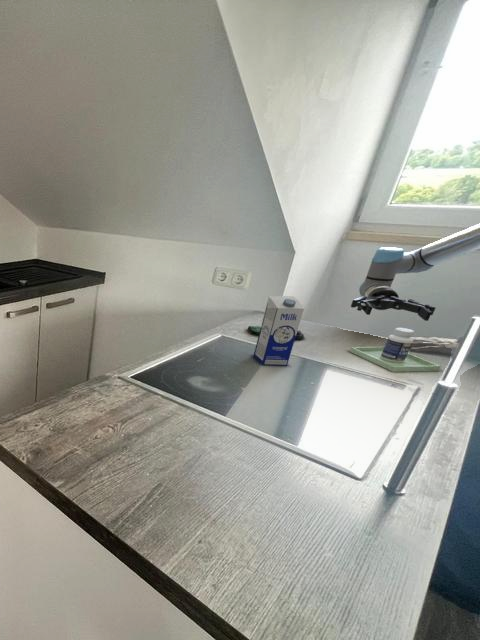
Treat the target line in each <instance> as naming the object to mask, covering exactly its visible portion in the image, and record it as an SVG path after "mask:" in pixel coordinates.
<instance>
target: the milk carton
mask: <svg viewBox="0 0 480 640" xmlns="http://www.w3.org/2000/svg"><path fill="white" fill-rule="evenodd" d="M304 310H305V307H304V305H303V304H302V303H301V302H300V301H299V300H298V298H296V297H295V296H293V295H290V296H285V295H269V296H268V299H267V302H266V306H265V310H264V314H263V317H262V321H261V325H260V327H261V329H260V333H259V336H258V335H257V336H258V337H257V340H256V345H255V349H254V351H253V358H255V360H257V361H258V362H259V363H260V364H261V365H262V366H288V363H289V360H290V357H291V354H292V351H293V348H294V344H295V341H296V340H295V337H296V334H297V331H299V327H300V324H301V321H302V318H303V314H304Z"/></svg>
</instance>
